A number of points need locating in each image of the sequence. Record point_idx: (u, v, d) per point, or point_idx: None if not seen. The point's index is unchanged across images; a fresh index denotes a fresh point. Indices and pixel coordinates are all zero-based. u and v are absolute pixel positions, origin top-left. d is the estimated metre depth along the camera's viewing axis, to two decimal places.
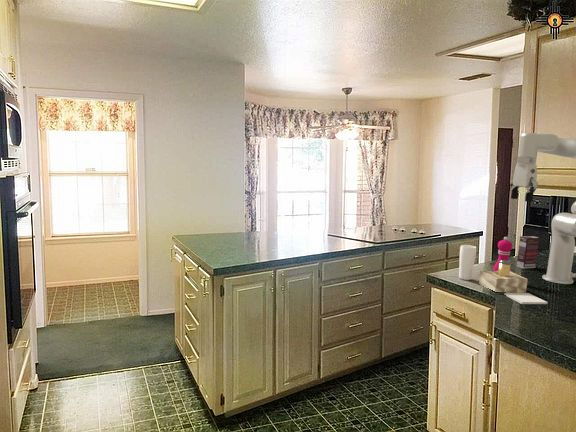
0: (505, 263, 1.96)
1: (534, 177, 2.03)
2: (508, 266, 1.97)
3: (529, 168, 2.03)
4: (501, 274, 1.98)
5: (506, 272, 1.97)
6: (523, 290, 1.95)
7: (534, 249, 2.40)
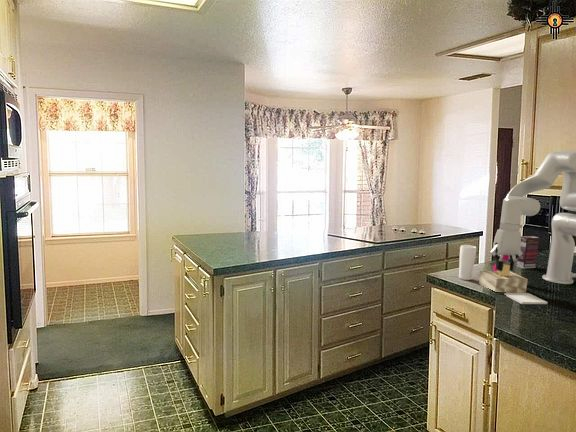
0: (505, 263, 1.96)
1: None
2: (508, 266, 1.97)
3: None
4: (501, 274, 1.98)
5: (506, 272, 1.97)
6: (523, 290, 1.95)
7: (534, 249, 2.40)
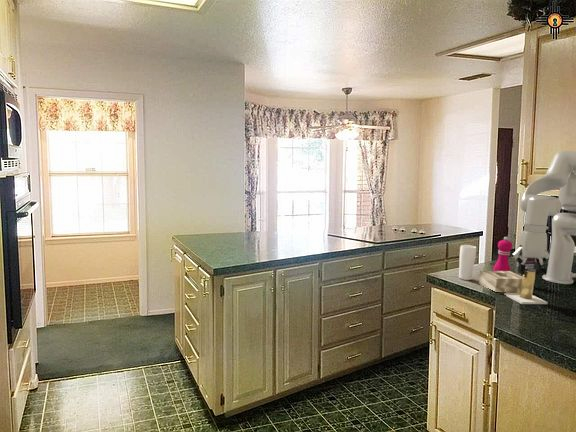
0: (530, 270, 1.83)
1: None
2: (533, 273, 1.83)
3: None
4: (525, 281, 1.84)
5: (531, 280, 1.83)
6: None
7: None
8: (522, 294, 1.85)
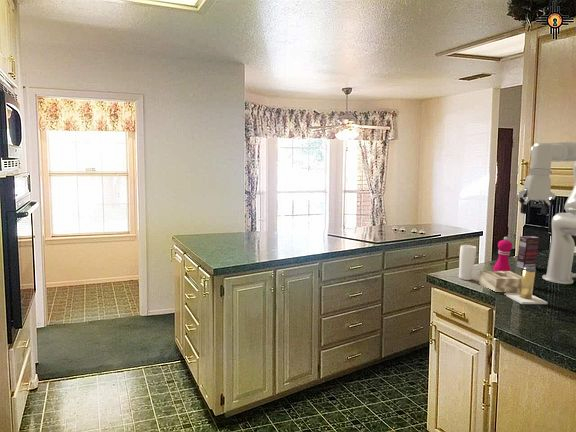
0: (530, 270, 1.83)
1: None
2: (533, 273, 1.83)
3: None
4: (525, 282, 1.84)
5: (530, 280, 1.83)
6: None
7: (534, 249, 2.40)
8: (522, 294, 1.85)
